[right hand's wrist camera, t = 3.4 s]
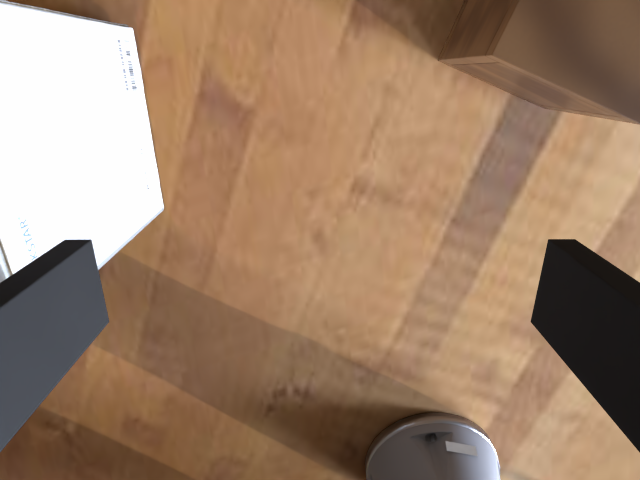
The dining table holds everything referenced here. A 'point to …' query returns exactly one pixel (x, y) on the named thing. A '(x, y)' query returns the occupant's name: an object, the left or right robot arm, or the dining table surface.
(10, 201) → the hard drive box
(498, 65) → the cabinet
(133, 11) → the dining table surface
